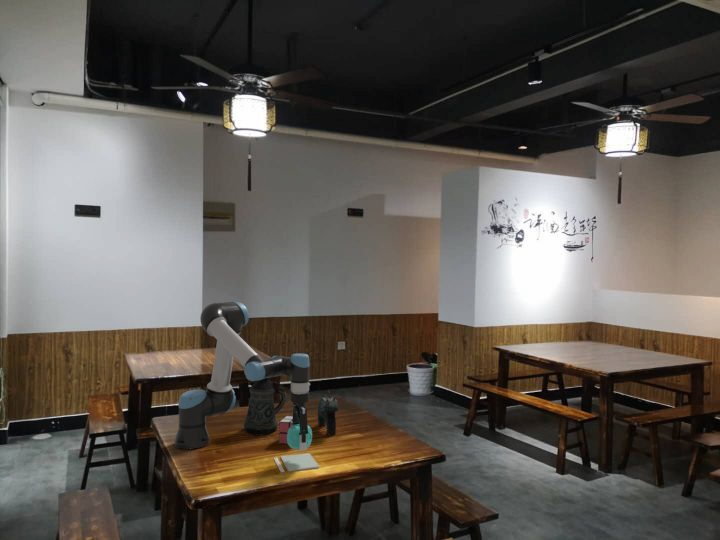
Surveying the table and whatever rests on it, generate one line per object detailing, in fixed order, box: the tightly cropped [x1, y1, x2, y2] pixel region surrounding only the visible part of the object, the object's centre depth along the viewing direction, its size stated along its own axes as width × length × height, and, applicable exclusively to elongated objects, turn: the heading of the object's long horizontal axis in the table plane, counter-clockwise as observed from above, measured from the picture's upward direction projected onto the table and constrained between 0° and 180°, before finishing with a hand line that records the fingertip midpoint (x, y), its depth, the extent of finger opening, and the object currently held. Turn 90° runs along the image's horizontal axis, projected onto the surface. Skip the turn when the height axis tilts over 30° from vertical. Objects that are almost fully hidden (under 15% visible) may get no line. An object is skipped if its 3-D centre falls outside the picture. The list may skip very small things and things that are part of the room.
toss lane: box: [273, 452, 320, 473], centre depth 223 cm, size 16×16×1 cm
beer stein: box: [243, 378, 287, 436], centre depth 268 cm, size 16×19×25 cm
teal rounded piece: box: [287, 424, 313, 450], centre depth 224 cm, size 8×8×8 cm
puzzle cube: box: [278, 415, 293, 445], centre depth 251 cm, size 10×10×10 cm
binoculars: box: [317, 389, 339, 436], centre depth 268 cm, size 20×6×20 cm, turn 22°
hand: (299, 445), depth 223 cm, fingers closed on teal rounded piece, 11 cm apart
